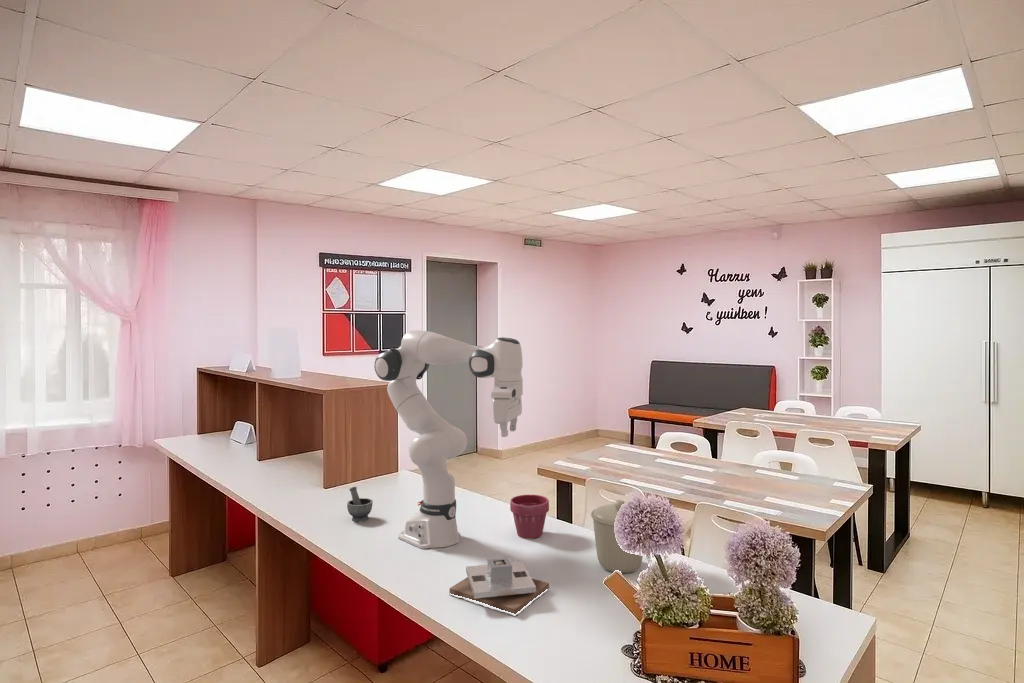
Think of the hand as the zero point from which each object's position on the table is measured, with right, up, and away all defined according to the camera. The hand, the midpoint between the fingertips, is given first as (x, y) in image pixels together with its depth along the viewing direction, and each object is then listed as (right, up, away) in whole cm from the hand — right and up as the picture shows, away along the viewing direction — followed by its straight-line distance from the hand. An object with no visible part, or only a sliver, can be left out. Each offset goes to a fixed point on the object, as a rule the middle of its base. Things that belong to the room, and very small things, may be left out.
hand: (508, 433), depth 178 cm
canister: (+35, -42, +2) cm, 55 cm away
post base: (-3, -43, -16) cm, 46 cm away
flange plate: (-3, -40, -16) cm, 43 cm away
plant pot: (+7, -42, +29) cm, 51 cm away
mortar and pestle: (-59, -41, +46) cm, 85 cm away
